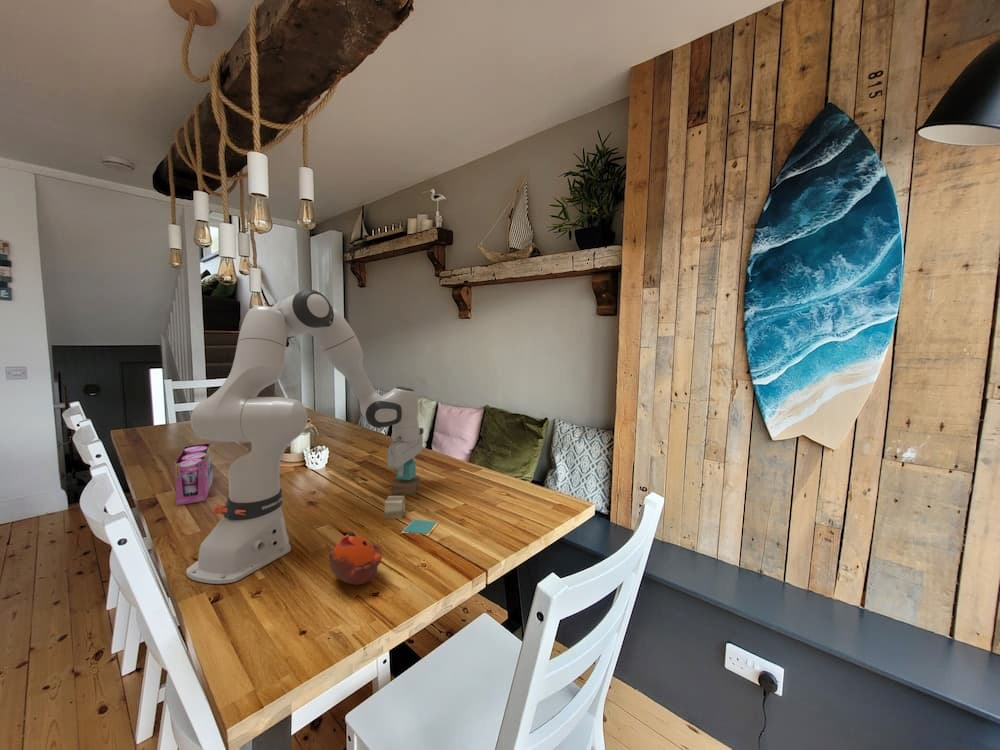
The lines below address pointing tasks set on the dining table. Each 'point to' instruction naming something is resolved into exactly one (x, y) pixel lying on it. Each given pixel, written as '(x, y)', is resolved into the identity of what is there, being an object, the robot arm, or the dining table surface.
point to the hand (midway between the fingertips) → (405, 472)
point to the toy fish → (355, 559)
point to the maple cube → (394, 506)
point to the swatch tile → (419, 526)
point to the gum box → (193, 474)
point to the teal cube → (408, 470)
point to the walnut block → (406, 486)
